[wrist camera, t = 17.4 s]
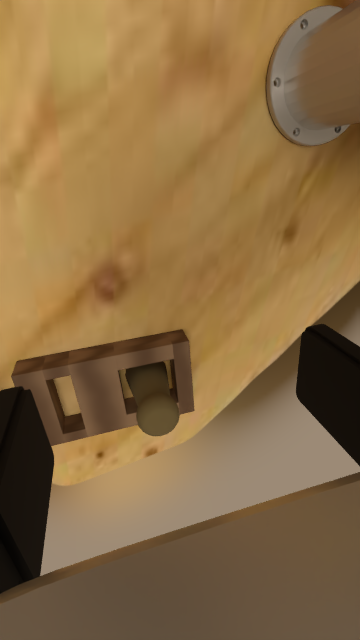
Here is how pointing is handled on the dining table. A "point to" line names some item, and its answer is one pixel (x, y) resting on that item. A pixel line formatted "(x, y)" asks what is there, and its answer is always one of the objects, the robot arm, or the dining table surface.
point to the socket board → (102, 383)
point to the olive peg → (153, 398)
